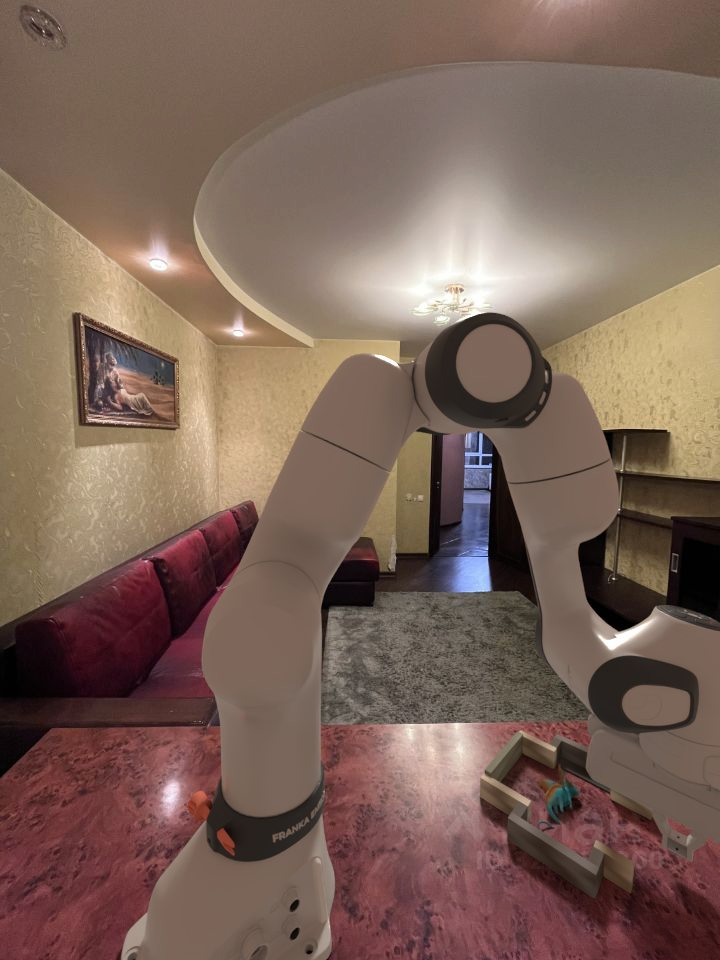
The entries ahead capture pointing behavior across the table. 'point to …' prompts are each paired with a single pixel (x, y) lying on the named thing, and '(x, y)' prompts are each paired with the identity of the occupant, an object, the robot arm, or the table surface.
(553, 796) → the dragon figurine
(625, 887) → the channel
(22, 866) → the table surface
